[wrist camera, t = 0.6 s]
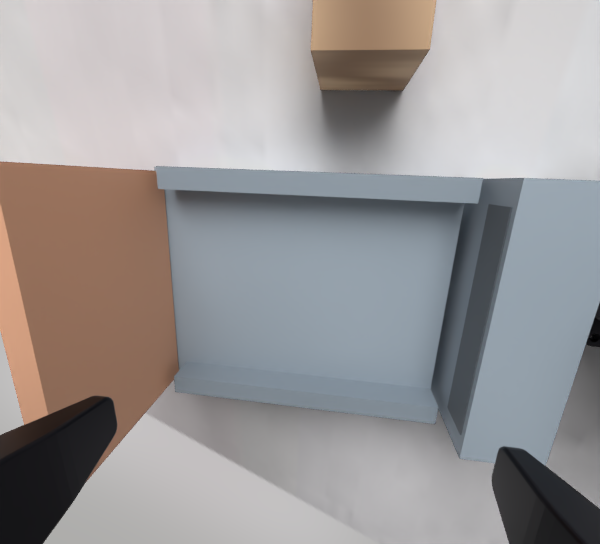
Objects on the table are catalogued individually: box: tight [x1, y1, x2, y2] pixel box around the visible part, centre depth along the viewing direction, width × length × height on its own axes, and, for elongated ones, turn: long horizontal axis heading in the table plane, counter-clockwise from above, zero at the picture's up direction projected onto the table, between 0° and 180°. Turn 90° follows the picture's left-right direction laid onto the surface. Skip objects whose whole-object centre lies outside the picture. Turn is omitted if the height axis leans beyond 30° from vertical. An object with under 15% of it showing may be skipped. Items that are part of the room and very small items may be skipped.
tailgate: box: [0, 162, 179, 483], centre depth 13 cm, size 1×12×8 cm, turn 178°
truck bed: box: [154, 166, 600, 466], centre depth 16 cm, size 19×12×6 cm, turn 88°
